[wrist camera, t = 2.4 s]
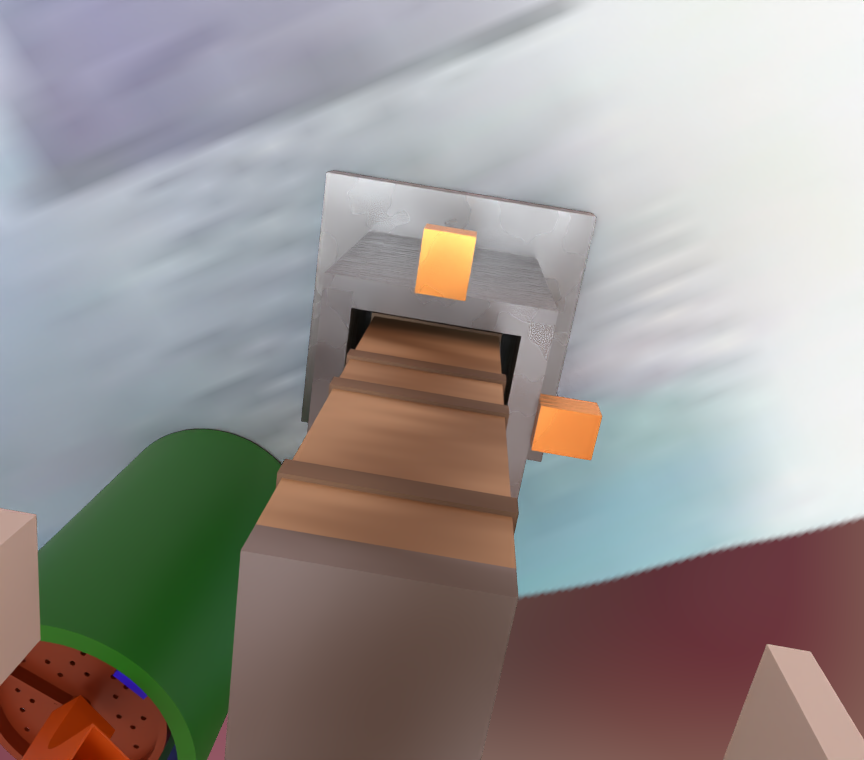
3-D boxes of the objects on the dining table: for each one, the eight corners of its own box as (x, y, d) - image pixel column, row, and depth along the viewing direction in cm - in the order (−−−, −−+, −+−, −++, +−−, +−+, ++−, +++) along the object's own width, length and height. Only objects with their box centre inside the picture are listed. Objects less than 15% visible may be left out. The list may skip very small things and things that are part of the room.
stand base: (307, 410, 38) (230, 535, 26) (333, 170, 34) (255, 193, 22) (538, 448, 37) (563, 592, 26) (591, 212, 33) (648, 258, 22)
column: (383, 366, 34) (218, 766, 13) (396, 270, 33) (234, 543, 11) (479, 382, 34) (475, 811, 13) (497, 287, 33) (525, 593, 11)
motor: (99, 495, 40) (-240, 823, 21) (201, 390, 38) (-81, 655, 19) (238, 611, 42) (40, 1007, 23) (344, 519, 40) (218, 876, 21)
